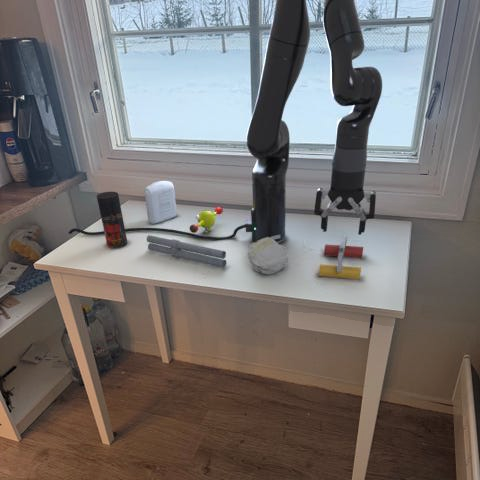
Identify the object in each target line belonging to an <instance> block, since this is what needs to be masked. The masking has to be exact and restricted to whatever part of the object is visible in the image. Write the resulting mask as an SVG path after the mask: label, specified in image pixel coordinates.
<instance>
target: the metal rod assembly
mask: <svg viewBox="0 0 480 480" xmlns="http://www.w3.org/2000/svg"><path fill="white" fill-rule="evenodd" d="M146 242H147V243H148V244H147V250H149V251H152V252H157V253H160V254H165V255H169V256H171V257H174V258H178V259H179V258H181V259H186V260H190V261H194V262H198V263H202V264H206V265H211V266H216V267H220V268H226V266H227V260H226V259H225V258H226V257H227V251H225V250H220V249H217V248H211V247H207V246H202V245H199V244H193V243H190V242H184V241H181V240H179V239H174V238H171V239H169V238H166V237H165V238H164V237H159V236H156V235H151V234H148V235H147V236H146Z"/></svg>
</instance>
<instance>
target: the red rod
mask: <svg viewBox="0 0 480 480" xmlns="http://www.w3.org/2000/svg"><path fill="white" fill-rule="evenodd" d="M339 246H341V244H340V245H339V244H328V243H327V244H326V243H325V245H324V250H323V256H325V257H338V254H339ZM363 254H364V246H356V245H355V246H354V245H346V246H345V251H344V257H343V258H352V259H363Z"/></svg>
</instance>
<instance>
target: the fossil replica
mask: <svg viewBox="0 0 480 480" xmlns="http://www.w3.org/2000/svg"><path fill="white" fill-rule="evenodd" d="M247 256H248V259H249V261H250V264H251V267H252V269H253V271H254V272H258V273H261V274H263V275H274V274H275V273H277V272H279V271H281V270H282V269H284V268H285V267H286V266H287V265H288V264H289V261H290V258H289V256H288V252H287V250H286V247H285V246H284V245H283V244H280V243H279V244H278V243H277V242H276V241H275V240H274V239H272V238H269V237H266V238H263V239H261V240H259V241H257V242H252V243H250V244H249V245H248V250H247Z"/></svg>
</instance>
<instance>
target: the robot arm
mask: <svg viewBox="0 0 480 480" xmlns="http://www.w3.org/2000/svg"><path fill="white" fill-rule="evenodd" d="M322 11H323V12H322V24H323V30H324V35H325V39H326V42H327V46H328V47H327V48H328V50H329V54H330V91H331V94H332V98H333V100H334V101H335V102H336V103H337V104H338V105H339V106H341V107H352V108H351V109H350V112H349V113H348V114H346V115H344V116H342V117H341V118H340V119H339V120H338V121H337V123H336V131H335V141H334V148H333V149H334V150H333V153H332V161H331V175H330V176H331V178H330V188H329V189H323V188H322V187H318V189H317V191H316V193H315V201H314V202H315V203H314V209H313V214H314V215H315V216H317V215H318V216H319V217H320V219H321V220H320V229H321V230H322V232H323V233H327V231H328V221H329V214H330V213H332V211H333V210H334V209H337V210H340V211H342V210H346V211H354V213H356V215H358V217H359V225H358V231H357V232H358V233H357V234H358V235H359V236H361V235H362V233H365V232H366V231H365V230H366V224H367V223H366V222H367V220H374V218H375V215H376V214H375V213H376V202H377V201H376V200H377V199H376V198H377V192H376V190H372V191H370V192H365V190H364V185H365V177H366V167H367V159H368V142H369V141H368V140H369V134H370V133H369V132H370V127H371V123H372V121H373V118H374V116H375V114H376V110H377V107H378V105H379V102H380V99H381V96H382V92H383V78H382V75H381V73H380V71H379V70H378V69H377V67H375V66H362V67H354V65H353V60H356V59H357V58H359V57H360V56H361V55H362V54H363V52H364V50H365V40H364V39H365V38H364V35H363V30H362V27H361V23H360V18H359V15H358V11H357V7H356V2H355V0H324V4H323V9H322ZM310 23H311V22H310V17H309V11H308V6H307V0H275V7H274V12H273V18H272V22H271V26H270V31H269V36H268V38H267V39H268V40H267V44H266V48H265V49H266V50H265V56H264V62H263V67H262V71H261V77H260V82H259V88H258V93H257V97H256V102H255V106H254V109H253V112H252V115H251V119H250V122H249V125H248V128H247V133H246V138H245V139H246V146H247V149H248V152H249V153H250V154H251V156H253V158H255V159H256V162H255V165H254V167H253V169H252V172H251V173H252V174H251V183H252V184H251V185H252V187H251V188H252V208H251V210H250V215H251V216H250V217H251V218H247V220H246V222H245V223H244V224H241V225H239V226H237V227H236V228H235V229H234V230H233V233H232V234H231V235H228V236H211V235H209V236H208V235H201V234H196V233H192V232H188V231H182V230H178V229H171V228H161V227H129V228H125V232H126V233H127V232H142V231H143V232H145V231H147V232H149V231H150V232H152V231H153V232H164V233H165V232H166V233H173V234H178V235H183V236H188V237H193V238H196V239H202V240H211V241H212V240H213V241H222V240H223V241H225V240H231V239H233V238H234V237H236V236H237V233H238V231H240V230H242V229H245V233H251V242H252V243H256V242H257V241H259V240H261V239H263V238H266V237H269V238H272V239H274V240H275V241H276V242H277V243H278V244H279V245H280V244H281V243H283V242H285V240H286V203H287V202H286V200H287V199H286V197H287V194H286V193H287V190H286V189H287V188H286V187H287V172H288V169H289V163H290V140H291V138H290V130H289V128H288V127H289V126H288V124H287V123H286V122H285V121H284V120H283V115H284V111H285V107H286V105H287V101H288V99H289V97H290V96H291V93H292V91H293V89H294V88H295V85H296V84H297V82H298V79H299V77H300V74H301V72H302V70H303V67H304V63H305V61H306V56H307V51H308V48H309V44H310V39H311V25H310ZM326 196H327V197H328V199H329V200H330V202H329V203H328V204H327V205H326V207H325V208H324V209H323V208H321V206H322V200H324V199H325V198H326ZM364 199H365V200H366V202H367V203H369V208H368V210H369V211H367V212H366V211H365V209H364V207H363V205H362V203H361V202H362V201H363V200H364ZM74 232H77V233H80V234H83V235H86V236H101V235H105V233H104V230H103V231H86V230H83V229H80V228H72V229H70V230H69V231H68V235H71V234H73V233H74ZM81 309H82V312H83V315H84V320H85V324H86V327H90V325H91V324H90V321H89V318H88V314H87V311H86V308H84V307H83V306H82V307H81Z"/></svg>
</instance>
